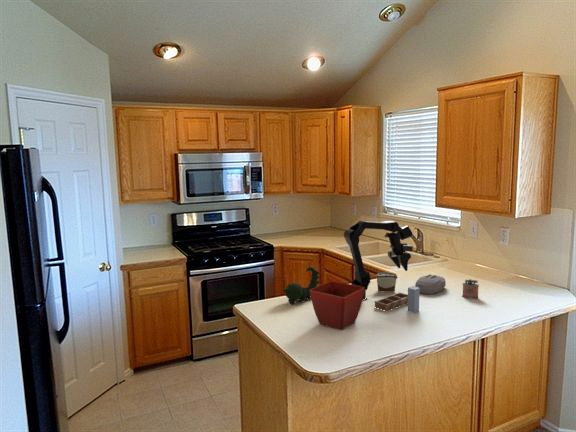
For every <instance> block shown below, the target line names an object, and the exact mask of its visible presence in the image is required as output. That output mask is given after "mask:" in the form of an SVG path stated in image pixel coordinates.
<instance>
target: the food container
mask: <svg viewBox="0 0 576 432" xmlns="http://www.w3.org/2000/svg"><path fill="white" fill-rule="evenodd" d="M375 278H376V285H377V291H396V284H397V279H398V274H396V273H393V272H388V271H387V272H386V271H385V272H384V271H382V272H378V273H376V275H375Z"/></svg>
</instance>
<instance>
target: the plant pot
mask: <svg viewBox="0 0 576 432" xmlns="http://www.w3.org/2000/svg"><path fill="white" fill-rule="evenodd" d="M364 289H365V288H364V287H361V286H356V285H352V284H351V283H345V282H340V281H334V280H331V281H327V282H325V283H323V284H320V285H317V287H315V288H313V289H310V295H311V296H310V297H311V300H310V301H311V305H312V307H313V308H312V309H313V311H314V314H315V316H316V318H317V322H318V323H320V325H322V324H323V326H326V325H327V327H329V326H330V328H332V329H337V330H344V329H345V328H348V327H349V326H351V325H353V324H354V323H355V322H356V321H357V318H358V316H359V314H360V309H361V307H362V303H363V301H364V300H363V295H364ZM362 300H363V301H362ZM352 323H353V324H352ZM347 326H348V327H347Z"/></svg>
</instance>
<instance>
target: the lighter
mask: <svg viewBox="0 0 576 432" xmlns="http://www.w3.org/2000/svg"><path fill="white" fill-rule="evenodd" d="M478 281H479V280H476V279H471V278H470V279H465V281H464V282H463V283H462V296H461V297H462V298H466V299H473V300H478V299H479V286H480V285H479V284H478Z"/></svg>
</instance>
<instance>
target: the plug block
mask: <svg viewBox="0 0 576 432" xmlns="http://www.w3.org/2000/svg"><path fill="white" fill-rule="evenodd" d="M419 290H420V288H418V287H415V285H414V286H410V287H408V288H407V295H408V304H407V312H409V311H410V313H412V312H413V314H416V313H417V312H420V292H419Z"/></svg>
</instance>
